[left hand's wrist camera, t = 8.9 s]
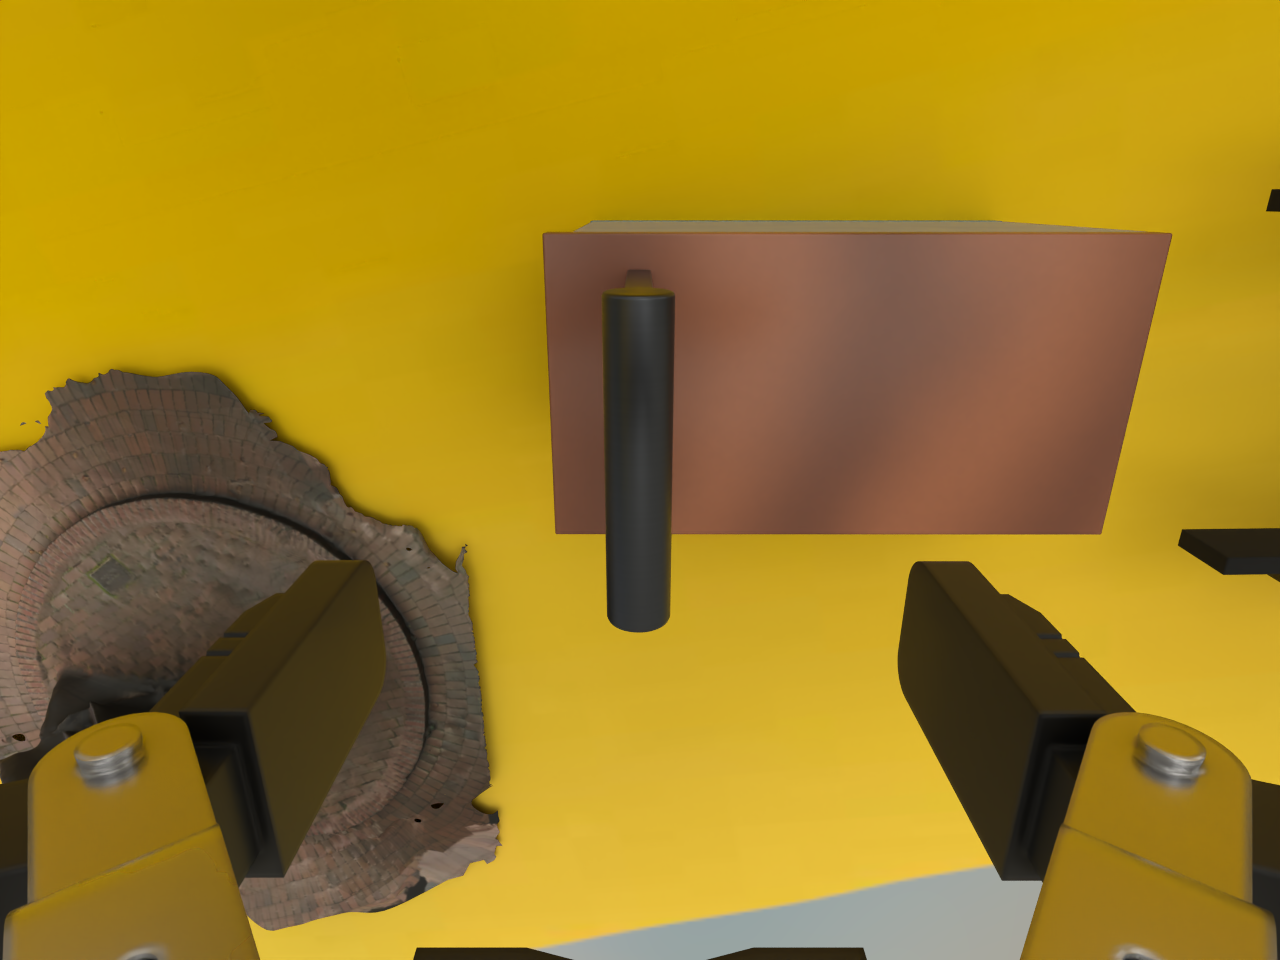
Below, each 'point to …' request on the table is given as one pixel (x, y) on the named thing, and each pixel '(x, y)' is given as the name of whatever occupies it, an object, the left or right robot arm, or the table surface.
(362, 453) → the table surface
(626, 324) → the lid
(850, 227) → the chest
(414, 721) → the sculpture
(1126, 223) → the table surface
